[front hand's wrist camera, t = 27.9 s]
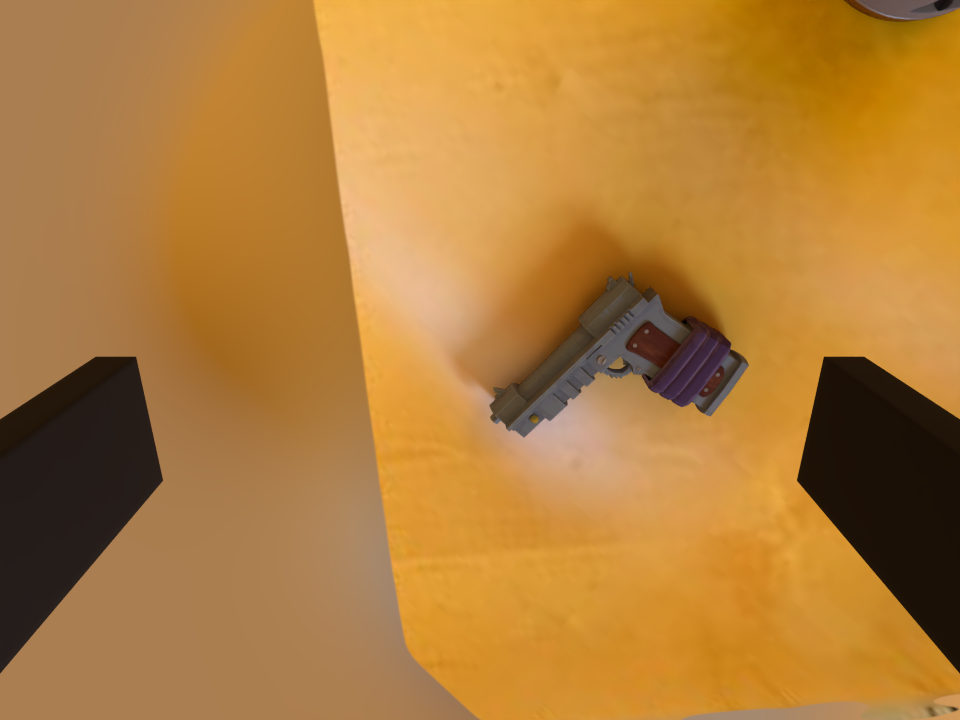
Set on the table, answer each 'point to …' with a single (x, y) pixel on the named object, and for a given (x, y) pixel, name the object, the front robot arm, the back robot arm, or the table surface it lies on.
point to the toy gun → (626, 359)
